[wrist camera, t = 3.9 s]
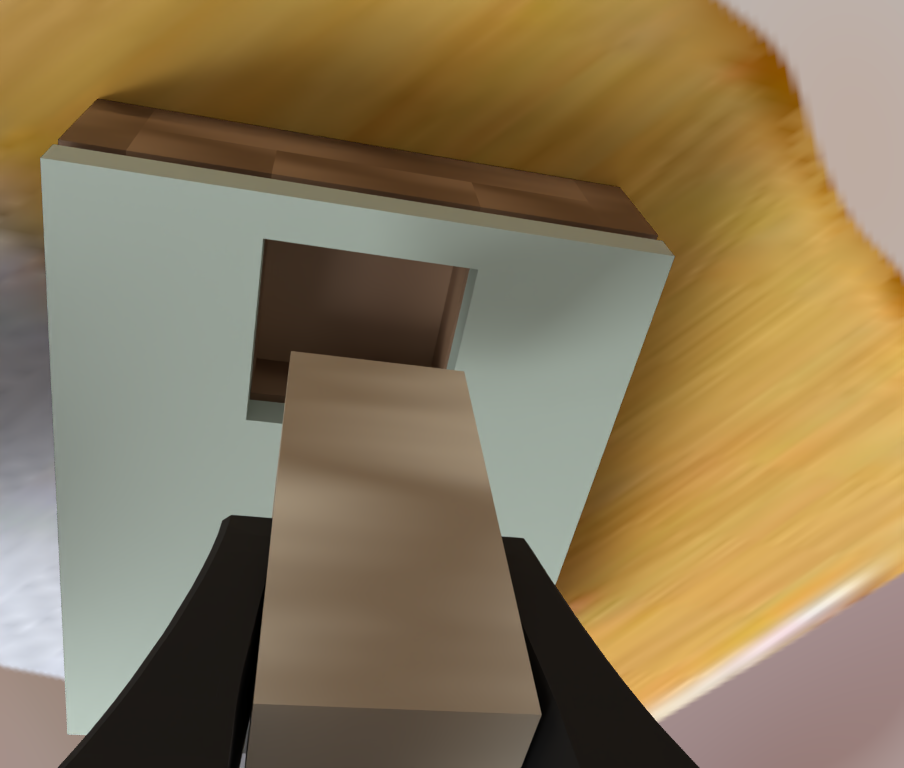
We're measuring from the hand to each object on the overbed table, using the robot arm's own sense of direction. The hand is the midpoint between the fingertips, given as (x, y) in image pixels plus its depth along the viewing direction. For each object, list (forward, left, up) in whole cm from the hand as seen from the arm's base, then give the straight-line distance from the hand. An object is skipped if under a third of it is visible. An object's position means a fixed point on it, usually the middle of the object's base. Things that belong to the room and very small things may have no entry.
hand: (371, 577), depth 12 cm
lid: (0, -5, -7) cm, 9 cm away
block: (0, 0, -4) cm, 4 cm away
